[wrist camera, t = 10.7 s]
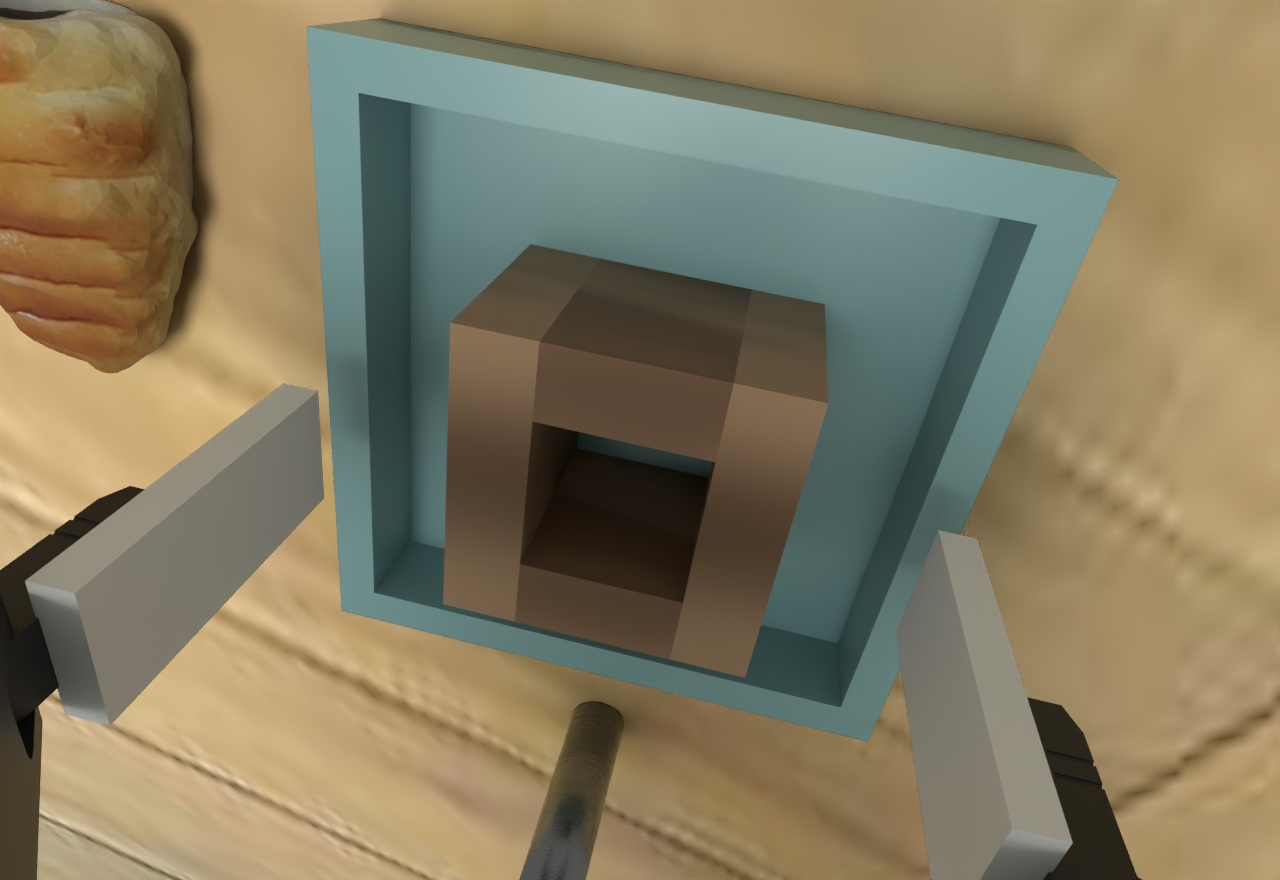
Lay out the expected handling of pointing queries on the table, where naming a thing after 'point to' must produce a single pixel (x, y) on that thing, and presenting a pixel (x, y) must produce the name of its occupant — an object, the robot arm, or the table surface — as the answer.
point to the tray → (700, 248)
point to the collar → (620, 488)
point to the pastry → (92, 178)
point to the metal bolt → (575, 796)
